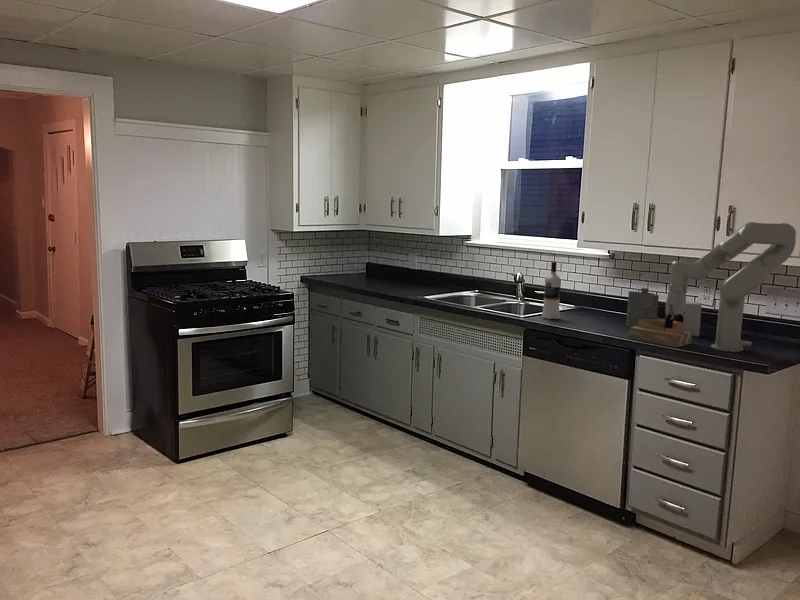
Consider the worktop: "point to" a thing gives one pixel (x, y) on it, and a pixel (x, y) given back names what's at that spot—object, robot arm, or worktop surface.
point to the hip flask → (640, 300)
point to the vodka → (552, 295)
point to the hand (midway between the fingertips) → (673, 326)
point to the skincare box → (692, 317)
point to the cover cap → (676, 328)
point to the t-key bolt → (645, 312)
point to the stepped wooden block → (658, 333)
